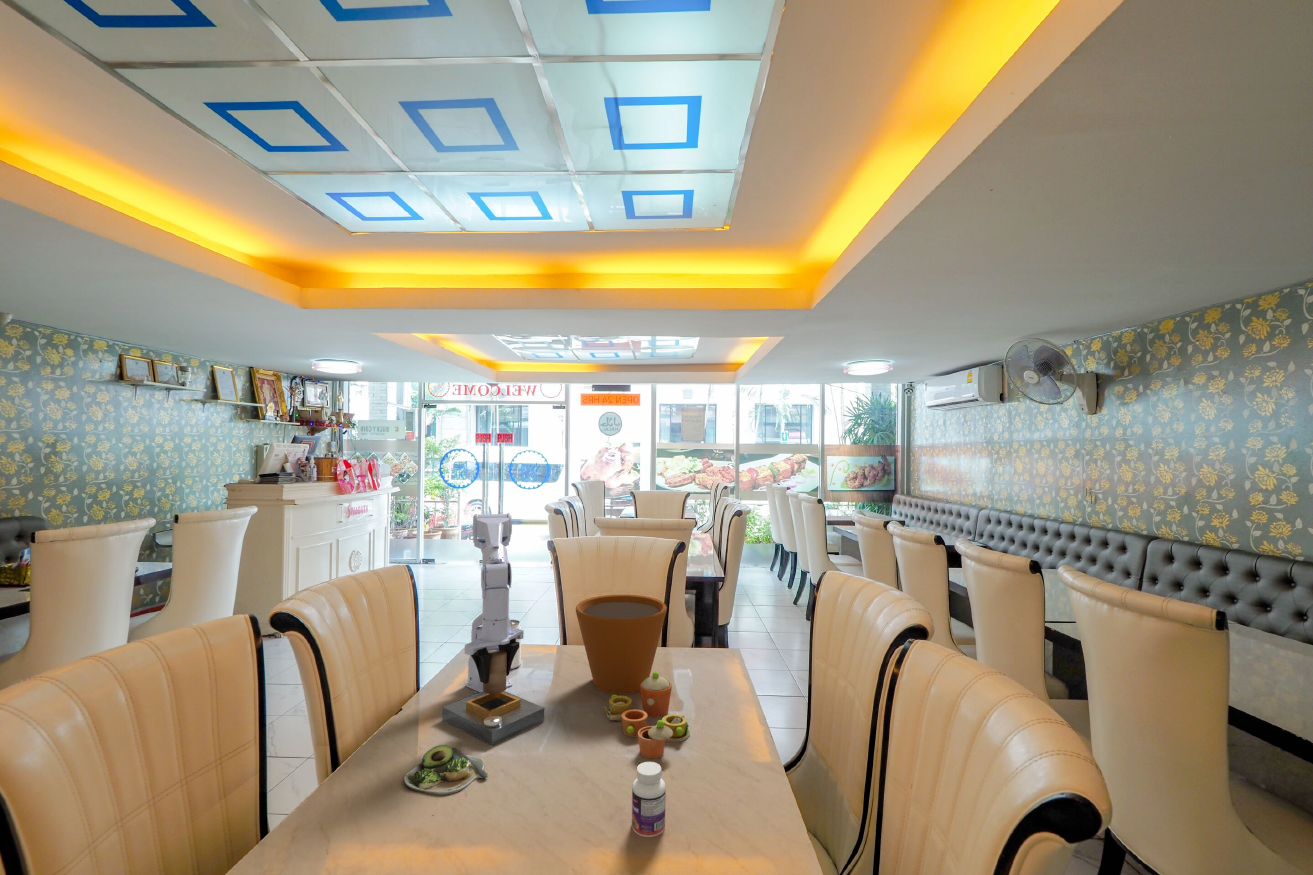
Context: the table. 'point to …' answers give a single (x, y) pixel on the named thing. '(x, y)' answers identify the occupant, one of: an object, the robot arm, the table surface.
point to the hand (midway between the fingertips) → (494, 678)
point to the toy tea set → (653, 705)
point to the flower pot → (620, 639)
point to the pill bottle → (648, 800)
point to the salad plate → (444, 770)
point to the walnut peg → (496, 673)
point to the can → (517, 657)
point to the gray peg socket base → (493, 716)
